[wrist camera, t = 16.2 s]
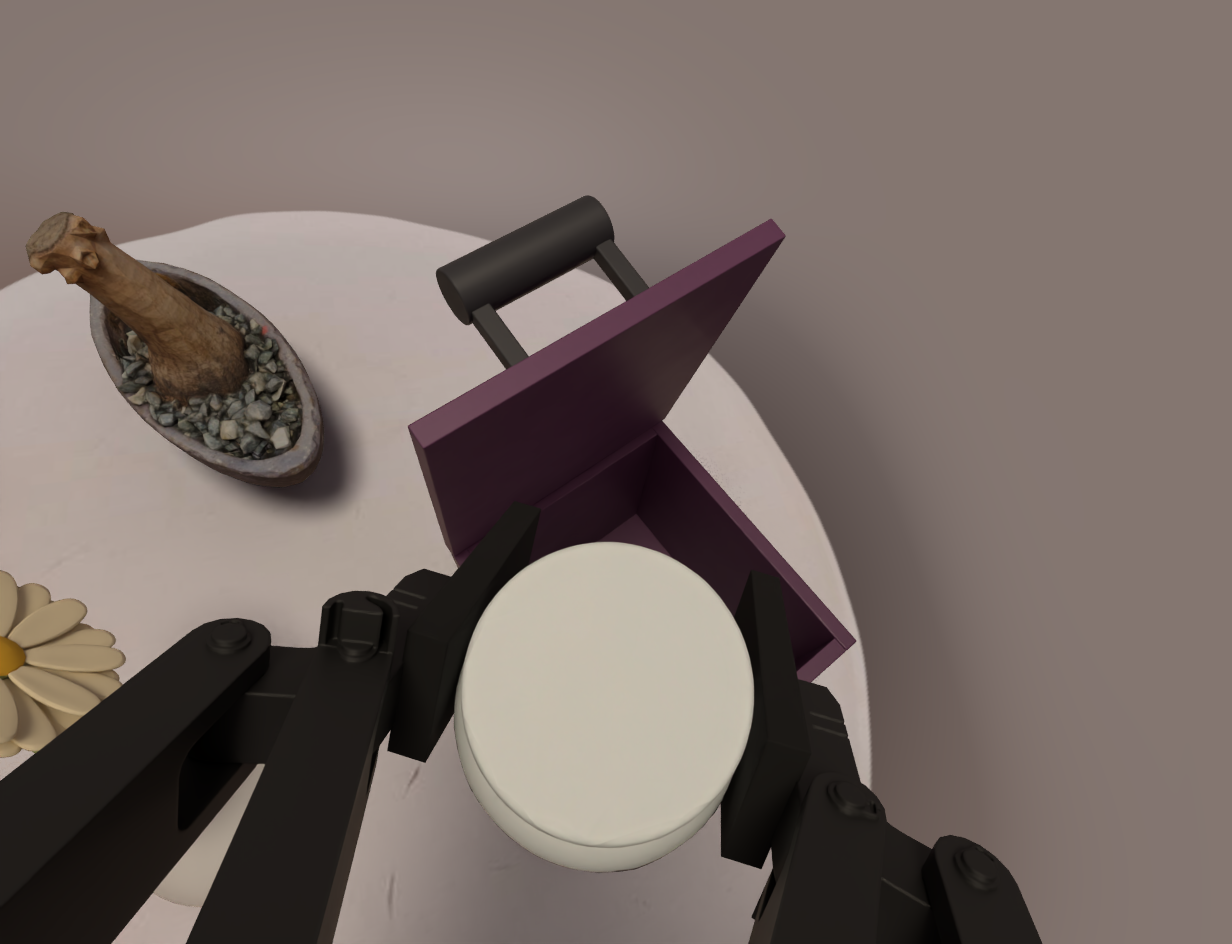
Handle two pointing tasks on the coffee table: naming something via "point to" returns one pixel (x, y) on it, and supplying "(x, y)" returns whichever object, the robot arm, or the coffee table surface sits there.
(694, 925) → the coffee table surface
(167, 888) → the flower in vase
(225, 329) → the planter
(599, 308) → the coffee table surface
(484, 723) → the pill bottle
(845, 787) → the robot arm
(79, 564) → the coffee table surface
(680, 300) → the lid
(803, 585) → the chest
